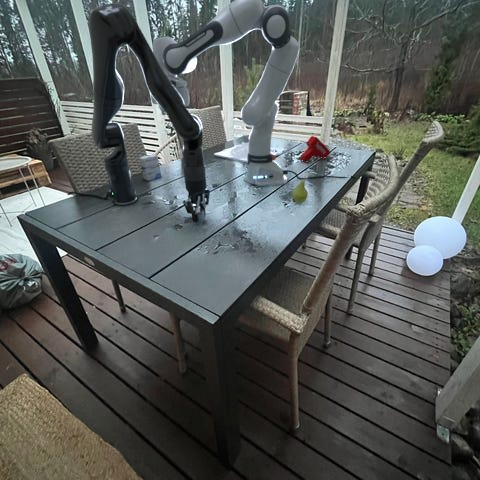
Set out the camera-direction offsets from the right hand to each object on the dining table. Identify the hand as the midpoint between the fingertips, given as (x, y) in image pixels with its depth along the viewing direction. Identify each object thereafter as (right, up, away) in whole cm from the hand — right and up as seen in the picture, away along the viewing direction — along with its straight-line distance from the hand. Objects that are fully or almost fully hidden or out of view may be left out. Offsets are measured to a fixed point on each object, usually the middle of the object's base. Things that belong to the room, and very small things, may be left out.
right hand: (171, 115), depth 128 cm
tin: (+16, -51, -22) cm, 58 cm away
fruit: (+59, -42, -6) cm, 73 cm away
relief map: (+37, -1, +57) cm, 68 cm away
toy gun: (+80, -8, +47) cm, 93 cm away
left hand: (+16, -51, -22) cm, 58 cm away
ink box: (-16, -25, +21) cm, 36 cm away
